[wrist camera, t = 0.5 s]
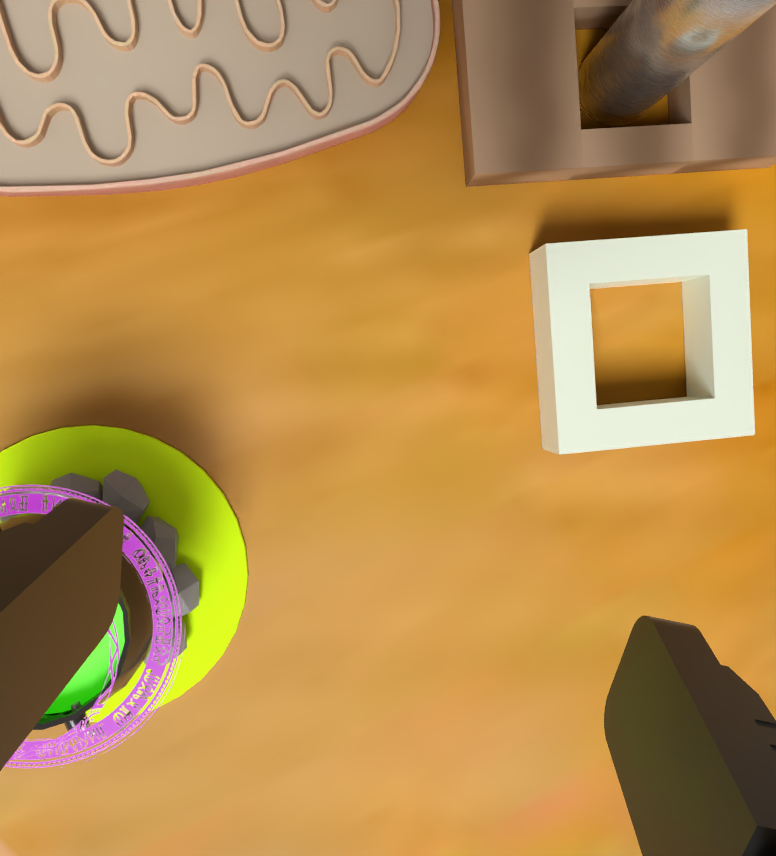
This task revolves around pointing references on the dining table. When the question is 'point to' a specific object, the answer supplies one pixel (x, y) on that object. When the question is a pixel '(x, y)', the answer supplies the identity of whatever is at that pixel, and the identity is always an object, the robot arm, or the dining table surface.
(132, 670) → the toy cauldron
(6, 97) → the anatomical model
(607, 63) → the silver metal cylinder
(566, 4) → the brown rectangular frame
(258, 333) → the dining table surface
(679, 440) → the white square frame
